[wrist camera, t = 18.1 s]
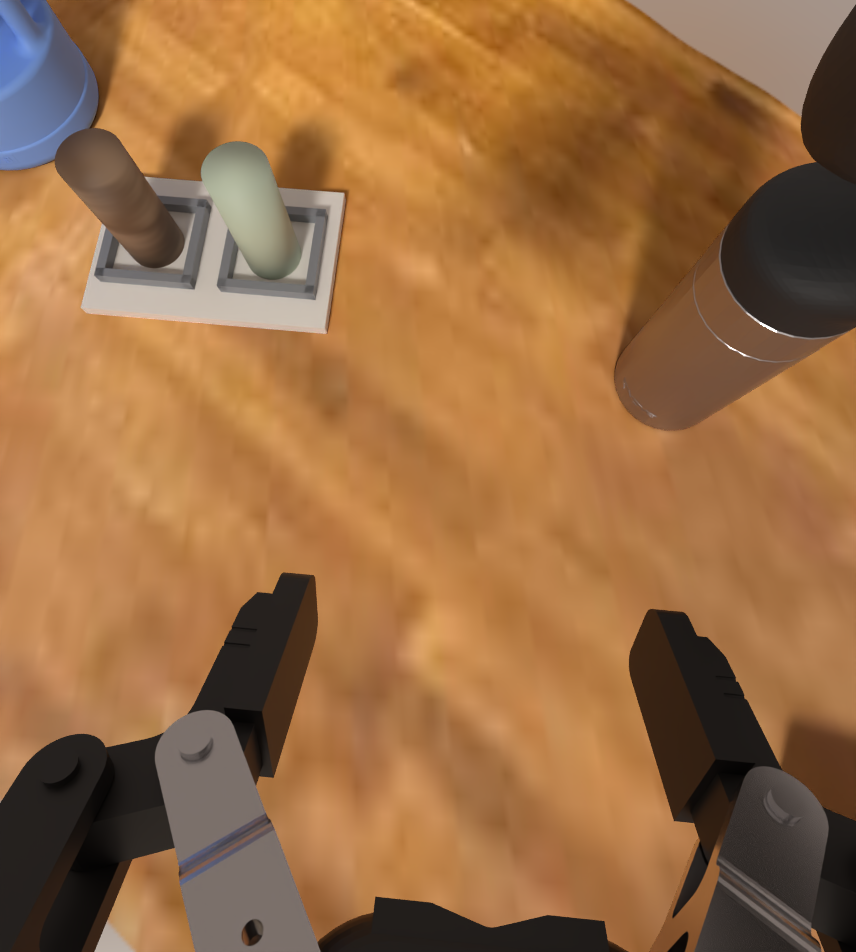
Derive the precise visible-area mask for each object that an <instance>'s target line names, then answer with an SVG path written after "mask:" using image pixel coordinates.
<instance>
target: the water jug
mask: <svg viewBox="0 0 856 952" xmlns="http://www.w3.org/2000/svg"><path fill="white" fill-rule="evenodd" d="M98 99H99V94H98V85H97V81H96V78H95V75H94V73H93V70H92V68H91V67H90V65H89V63H88V62H87V60H86V59H85V57H84V56H83V54H82V52H81V51H80V49H79V48H78V47H77V45H76V44H75V43H74V42H73V41H72V40H71V38H70V37H69V35H68V34H67V32H66V30H65V29H64V27H63V26H62V24H61V23H60V21H59V20H58V18H57V17H56V15H55V13H54V12H53V10H52V9H51V7H50V6H49V4H48V3H47V1H46V0H0V170H22V169H29V168H33V167H37V166H40V165H43V164H46V163H48V162H51V161H53V160H55V155H56V152H57V149H58V147H59V146H60V144H61V143H62V142H63V141H64V140H65V139H66V138H67V137H68V136H70V135H71V134H73V133H75V132H77V131H80V130H83V129H89V128H90V126H91V124H92V122H93V120H94V118H95V115H96V112H97V107H98Z"/></svg>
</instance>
